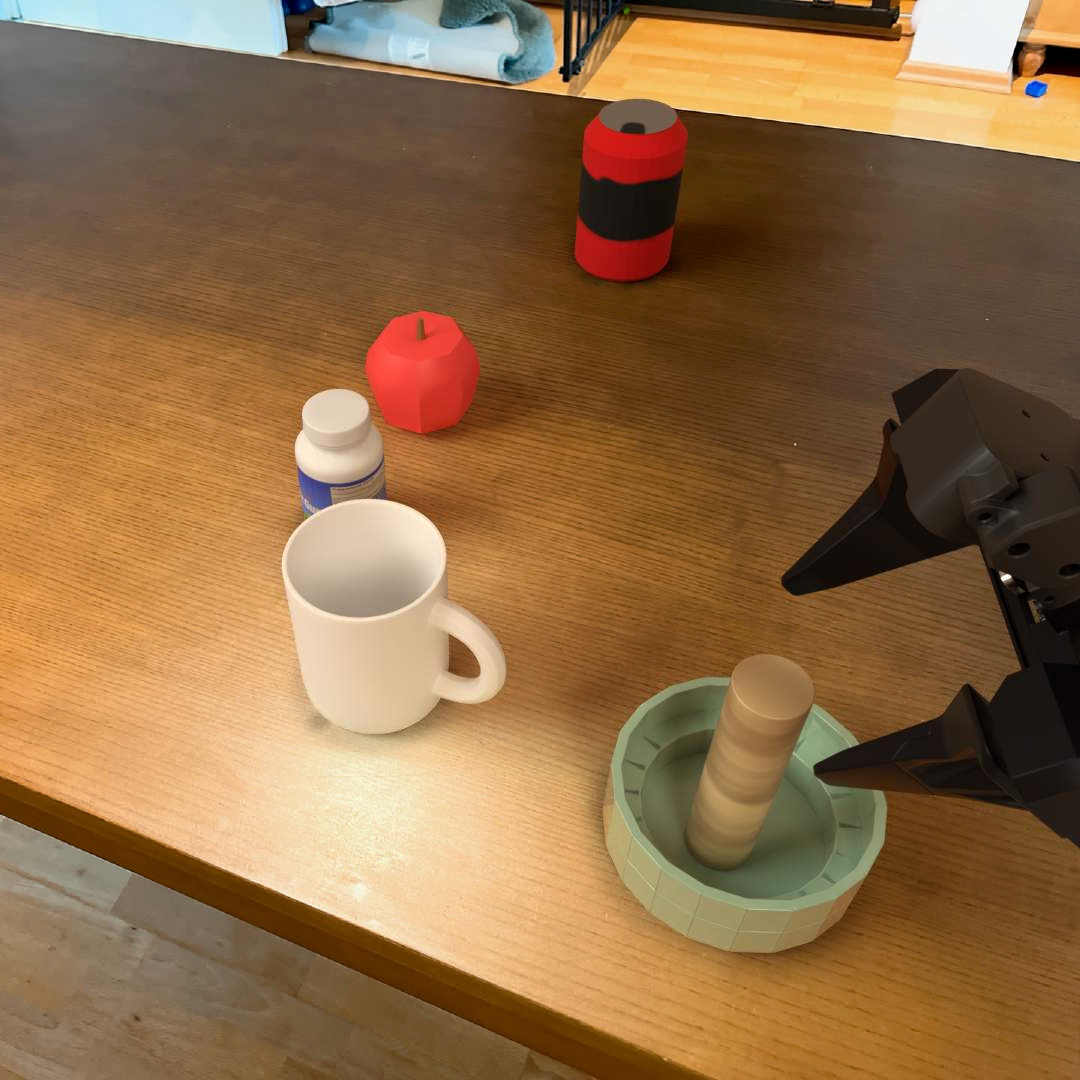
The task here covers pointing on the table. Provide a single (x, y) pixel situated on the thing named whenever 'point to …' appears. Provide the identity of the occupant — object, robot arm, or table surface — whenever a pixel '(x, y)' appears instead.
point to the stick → (747, 758)
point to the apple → (422, 372)
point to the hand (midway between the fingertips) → (801, 675)
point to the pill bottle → (338, 452)
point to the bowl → (780, 851)
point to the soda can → (629, 189)
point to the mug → (380, 618)
